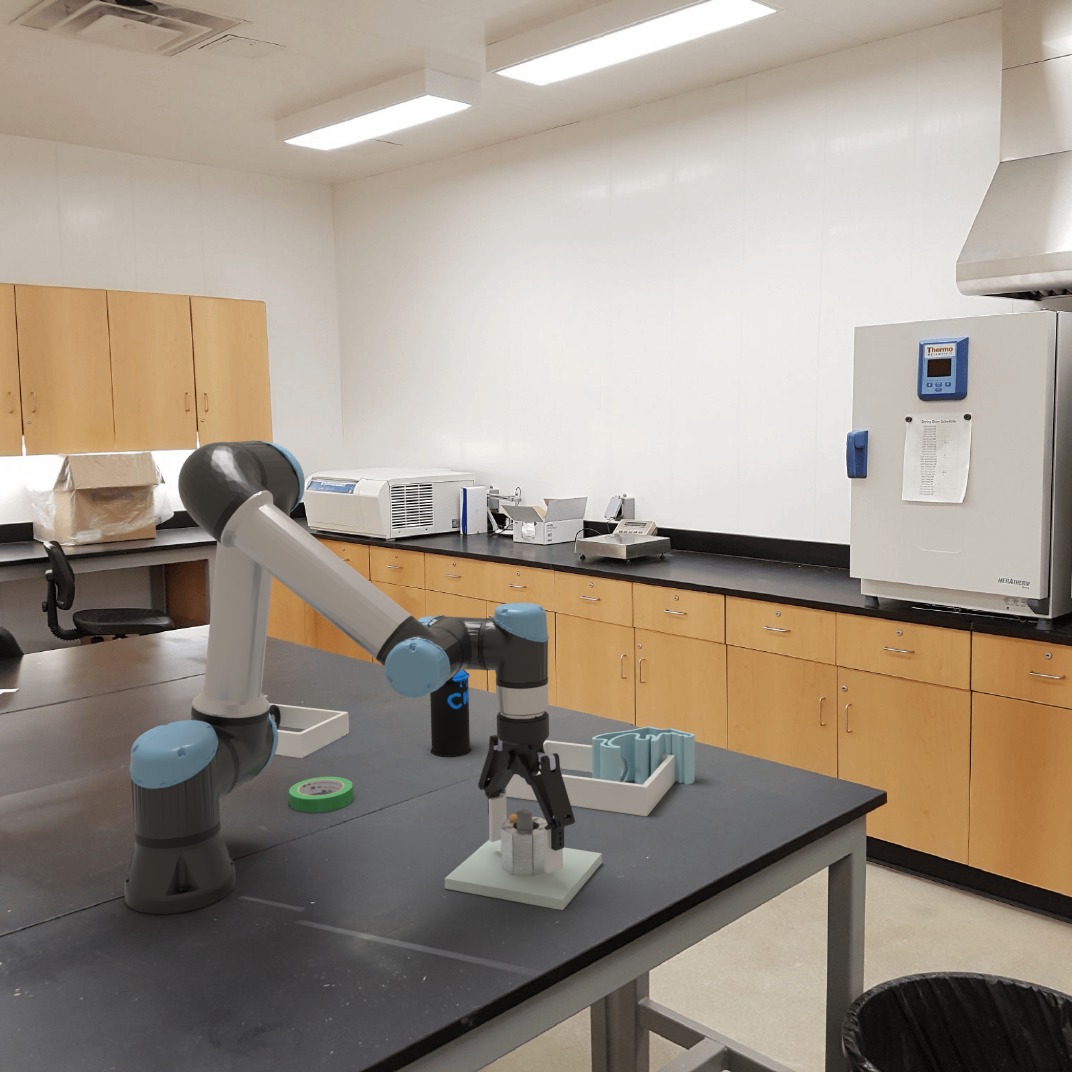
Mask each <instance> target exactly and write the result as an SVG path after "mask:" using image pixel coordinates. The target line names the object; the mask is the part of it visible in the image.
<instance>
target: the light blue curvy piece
mask: <svg viewBox="0 0 1072 1072" xmlns="http://www.w3.org/2000/svg"><path fill="white" fill-rule="evenodd" d="M695 737H696V734H694V733H691V732H687V731H683V730H679V729H676V728H673V727H671V728H657V727H654V726H651V725H648V726H644V727H639V728H635V729H630V730H629V729H628V730H623V731H614V732H613V731H612V732H606V733H601V734H598V735H595V736H593V737H592V738H591V745H592V773H591V775H592V777H591V778H594V779H602V780H609V781H617V782H621V780H622V779H623V780H622V782H625V783H628V782H630V781H634V784H641V785H643V784H644V783H645V782H646V781H647V779H648V778H649V777H650V776H651V775H652V774H653V773H654V772H655V771H656V769H657V768H658V767H659V766H660V765H661V764H662V755H663V754H665V755H669V754H670V755H675V782H678V783H679V784H683V783H684V785H692V784H694V783H695V771H696V770H695V769H696V767H695V765H696V764H695V763H696V761H695V759H696V754H695V753H696V752H695V750H696V748H695V747H696V746H695V744H696V739H695ZM620 757H621V759H622V761H623V770H622V773H621V762H620Z"/></svg>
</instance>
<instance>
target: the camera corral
mask: <svg viewBox="0 0 1072 1072" xmlns="http://www.w3.org/2000/svg"><path fill="white" fill-rule="evenodd" d="M269 704H272V705H277V706H278V707H279V709H280V714H281V720H280V725H279V727H282V728H284V727H285V728H290V729H291V728H293V729H300V730H302V731H299V732H297V731H291V730H282V729H278V746H277V750H276V753H275V755H277V756H282V757H291V758H298V759H299V758H300V759H303V758H305V757H306V756H308V755H310V754H312V753H314V752H316V751H318V750H320V749H322V748H324V747H326V746H327V745H329V744H332V743H333V742H335V741H337V740H339V739H342V738H343V737H345V736H347V735H348V734H350V721H349V719H350V718H349V711H341V710H331V709H322V708H314V707H303V706H295V705H288V704H277V703H270V702H269ZM346 734H347V735H346ZM342 736H343V737H342ZM275 755H274V756H275Z"/></svg>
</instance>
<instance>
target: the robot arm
mask: <svg viewBox="0 0 1072 1072" xmlns="http://www.w3.org/2000/svg"><path fill="white" fill-rule="evenodd" d="M305 483H306V481H305V474H304V471H303V468H302V466H301V464H300V462H299V461H298V459H296V457H295V456H294V454H293V453H292V452H291V451H290V450H288V449H287V448H285V447H284V446H282V445H279V444H277V443H274V442H270V441H269V442H268V441H263V440H254V439H253V440H244V441H243V440H242V441H230V442H227V441H218V442H211V443H207V444H204V445H202V446H200V447H199V448H197V449H195V450H194V451H193V452H191V454H190V455H188V457H187V458H186V460H184V462H183V464H182V466H181V468H180V471H179V474H178V482H177V488H178V494H179V498H180V501H181V503H182V505H183V507H184V509H185V511H186V512H187V513H188V515H189V516H190V517H191V519H193V521H194V522H195V523H196V524H197V525H198V526H199V527H200V528H201V529H203V530H204V531H205V532H206V533H207V534H208V535H209V536H211V537H212V538H213V539H214V540H216V553H215V554H216V555H215V563H214V575H213V585H212V587H213V588H212V595H211V596H212V599H211V606H210V607H211V608H210V618H209V629H208V640H207V649H206V650H207V651H206V662H205V671H204V682H203V691H201V692H200V693H199V694H197V695H196V696H195V697H194V698H193V699H192V701H191V708H190V709H191V711H190V712H191V713H190V719H188V720H186V719H184V720H178V721H177V720H176V721H172V722H168V724H166V725H165V724H163V725H162V724H161V725H157V726H155V727H152V728H151V729H149V730H147V731H145V732H144V733H142V734H141V735H139V736H138V737H137V738H136V740H135V741H134V742H133V744H132V747H131V749H130V763H129V769H128V770H129V777H130V779H131V796H132V799H131V800H132V813H133V828H134V848H133V852H132V856H131V859H130V864H129V867H128V872H127V873H128V874H127V875H126V877H125V880H124V888H123V889H124V902H125V903H126V905H127V906H128V907H129V908H130V909H132V910H135V911H136V912H140V913H145V914H155V915H167V914H178V913H185V912H189V911H194V910H197V909H201V908H203V907H208V906H209V905H212V904H215V903H216V902H218V901H220V900H222V899H224V898H225V897H226V896H228V895H229V894H230V893H231V892H232V891H233V890H234V888H235V886H236V883H237V880H236V879H237V876H236V875H237V874H236V866H235V863H234V861H233V859H232V858H231V857H230V854H229V849H228V848H227V844H226V842H225V838H224V836H223V834H222V829H221V828H222V827H221V808H220V807H221V805H220V803H221V802H220V801H221V799H223V798H224V797H226V796H227V795H229V794H230V793H232V792H234V791H235V790H237V789H239V788H240V787H241V786H243V785H244V784H247V783H249V782H250V781H253V780H254V779H255V778H256V777H258V776H259V775H260V774H261V773H262V772H263V771H264V770H265V769H266V768H267V767H268V766H269V764H270V763H271V762H272V761H273V759H274V757H275V753H276V750H277V746H278V730H279V729H278V730H277V726H276V723H275V722H273V721H272V719H271V715H270V713H269V710H270V704H269V703H270V701H269V700H268V701H267V699H266V698H265V697H264V696H263V695H262V694H261V692H262V687H263V678H264V677H263V676H264V667H265V657H266V647H267V638H268V627H269V618H270V607H271V601H272V599H271V598H272V597H271V596H272V589H273V578H275V579H276V581H278V582H280V583H281V584H282V585H284V586H285V587H286V588H287V589H288V590H289V591H291V592H292V593H294V595H296V596H297V597H298V598H299V599H301V600H302V601H303V602H304V603H306V604H307V605H308V606H309V607H311V608H312V609H313V610H314V611H316V612H317V613H318V614H320V615H321V616H322V617H323V618H325V619H326V620H327V621H328V622H329V623H330V624H332V625H333V626H334V627H336V629H338V630H339V632H342V633H343V634H344V635H346V637H348V638H349V639H350V640H351V641H353V642H354V643H355V644H356V645H358V646H359V647H361V649H363V650H364V651H365V652H367V653H368V654H369V655H370V656H371V657H373V659H375V660H376V661H377V662H378V663H380V664H381V665H382V666H383V667H384V675H385V677H386V680H387V682H388V684H389V687H391V689H392V690H394V692H396V693H397V694H398V695H400V696H403V697H406V698H411V699H412V698H414V699H417V698H423V697H424V696H426V695H429V694H430V693H432V692H434V691H436V690H438V689H439V688H440V687H441V686H443V685H444V684H445V683H446V681H447V680H449V679H450V678H451V677H453V676H455V675H456V674H457V673H458V672H460V671H461V670H466V671H467V670H471V671H472V670H474V671H476V670H477V671H494V672H495V708H496V711H497V712H498V713H497V715H496V734H493V735H490V736H489V739H488V740H489V744H488V751H487V754H486V757H485V761H484V764H483V767H482V771H481V773H480V776H479V780H478V784H477V786H478V789H479V790H484V794H485V796H486V798H487V813H488V814H487V815H488V825H489V826H488V828H489V829H488V834H489V835H488V836H489V839H488V840H489V841H491V842H495V841H498V840H501V827H502V825H503V822H504V821H506V820H508V819H507V815H508V814H507V811H508V810H507V797H506V786H507V785H508V783H509V782H510V780H511V778H512V777H513V775H514V774H518V775H519V776H520V777H522V778H524V779H525V781H526V783H527V784H528V785H530V786H531V787H532V789H533V792H534V794H535V796H536V799H537V801H536V802H537V803H538V806H539V808H540V810H541V813H542V815H543V817H544V819H545V820H546V822H547V824H548V825H547V826H544V867H545V872H546V873H550V872H553V871H556V870H559V869H562V868H563V848H565V827H568V826H571V825H574V824H575V823H576V819H575V816H574V811H573V809H572V806H571V805H570V801H569V798H568V794H567V791H566V788H565V784H564V781H563V777H562V774H563V773H562V771H561V769H560V760H559V755H558V754H557V753H554V754H550V755H549V754H545V751H544V747H543V744H544V742H545V740H548V738H549V737H550V714H549V713H548V712H547V710H548V709H549V638H550V637H549V634H548V622H547V620H548V619H547V611H546V610H545V607H543V606H542V605H540V604H537V603H532V602H530V603H529V602H508V603H503V604H499V605H498V606H496V608H495V609H494V615H493V616H492V617H491V616H490V617H470V616H469V617H468V616H466V617H465V616H464V617H463V616H448V615H447V616H446V615H444V614H442V615H441V614H439V615H437V616H435V615H434V616H422V617H420V618H419V619H416V618H415V617H414V616H413V615H412V614H411V613H410V612H408V611H407V610H406V609H405V608H403V606H401V605H399V604H398V603H397V602H396V601H395V600H393V599H392V598H391V597H390V596H388V595H387V594H385V592H383V591H382V590H381V589H379V588H378V587H377V586H376V585H375V584H373V583H372V582H371V581H369V580H368V579H367V578H366V577H365V576H363V575H362V574H361V573H360V572H358V571H357V570H356V569H354V568H353V567H352V566H351V565H350V564H348V563H347V562H346V561H345V560H344V559H343V558H341V557H340V556H338V555H337V554H336V553H335V552H333V551H332V550H331V549H330V548H328V547H327V546H326V545H325V544H323V543H322V542H321V541H320V540H318V539H317V538H316V537H315V536H313V535H312V534H311V533H310V532H309V531H307V530H306V529H305V528H303V527H302V526H301V525H300V524H298V522H297V521H295V520H294V519H292V518H291V517H290V514H291V513H292V512H293V511H294V510H295V509H296V508H297V506H299V504H300V503H301V501H302V499H303V497H304V494H305V487H306V484H305ZM539 771H540V773H541V774H539V775H537V774H538V772H539Z"/></svg>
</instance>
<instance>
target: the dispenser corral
mask: <svg viewBox="0 0 1072 1072" xmlns="http://www.w3.org/2000/svg"><path fill="white" fill-rule="evenodd" d="M543 747H544V751H545V754H549V755H550V754H554V753H557V754H558V755H559V760H560V770H561V769H562V770H570V771H578V772H585V773H591V774H592V744H590V745H589V744H582V743H581V744H580V743H575V742H574V743H573V742H563V741H554V740H548V739H546V740H545V742H544V744H543ZM620 762H621V773H622V770H623V761H622V759H621V757H620ZM539 774H541V773H540V771H539V772H538V774H537V775H539ZM561 774H562V777H563V781H564V784H565V788H566V791H567V794H568V798H569V801H570V805H571V807H577V808H585V809H590V810H591V809H593V810H600V811H606V812H613V813H621V814H628V815H634V816H635V815H636V816H641V817H648V816H649V814H650V813H651V812H652V811H653V810H654V808H655V807H656V806H657V804H659V802H660V801H661V800H662V799H663V797H664V796H665V795H666V793H667V792H668V791H669V790H670V788H672V786H673V785H674V784H675V782H676V781H675V755H670V754H669V755H665V754H663V755H662V764H661V765H660V766H659V767H658V768H657V769H656V771H655V772H654V773H653V774H652V775H651V776H650V777H649V778H648V779H647V781H646V782H645V783H644V784H643V785H641V784H635V783H632V782H623V781H620V782H617V781H609V780H602V779H594V778H592V777H586V776H585V777H584V776H576V775H570V774H563V773H561ZM505 791H506V793H505V796H506V798H514V799H521V800H527V801H534V802H538V801H537V799H536V796H535V794H534V792H533V789H532V787H531V786H530V785H528V784H527V783H526V781H525V779H524V778H522V777H520V776H519V775H518V774H514V775H513V777H512V778H511V780H510V782H509V783H508V785H507V786H506V788H505Z"/></svg>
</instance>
